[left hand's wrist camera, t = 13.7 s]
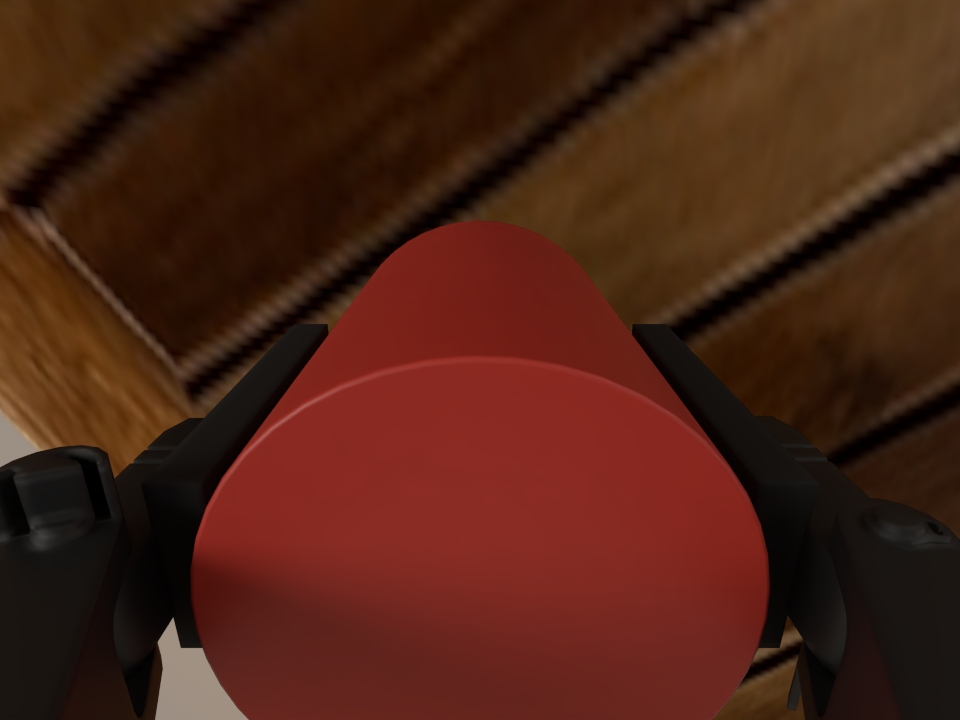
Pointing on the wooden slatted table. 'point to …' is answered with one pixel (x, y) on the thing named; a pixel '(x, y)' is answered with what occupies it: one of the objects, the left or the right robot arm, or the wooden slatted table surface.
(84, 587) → the left robot arm
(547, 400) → the cylinder
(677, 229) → the wooden slatted table surface
